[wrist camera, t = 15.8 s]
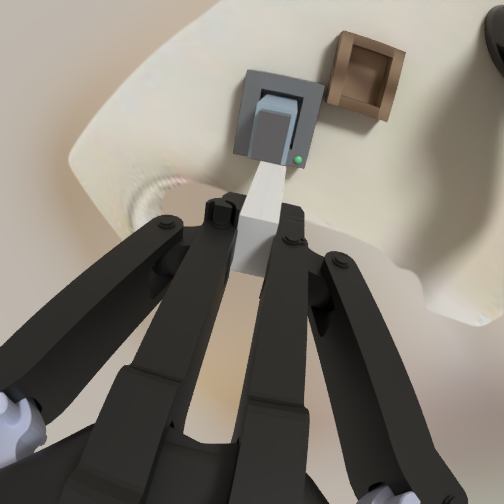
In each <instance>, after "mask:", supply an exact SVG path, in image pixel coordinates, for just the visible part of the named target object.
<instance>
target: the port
mask: <svg viewBox="0 0 504 504" xmlns="http://www.w3.org/2000/svg"><path fill="white" fill-rule="evenodd" d="M324 87H325V86H324V85H322V84H319V83H315V82H311V81H306V80H302V79H298V78H293V77H288V76H284V75H279V74H273V73H268V72H262V71H256V70H247V73H246V78H245V84H244V90H243V95H242V101H241V107H240V113H239V119H238V125H237V131H236V138H235V144H234V150H233V154H238V155H243V156H248V151H249V146H250V140H251V135H252V129H253V124H254V118H255V113H256V107H257V103H258V102H259V101H260V100H261V99H262V98H263V97H265V96H266V95H267V94H268V93H269V94H274V95H279V96H284V97H289V98H293V99H297V116H296V120H295V124H294V129H293V133H292V138H291V142H290V146H289V151H288V155H287V159H286V165H290V166H295V167H299V168H303V169H304V168H305V164H306V160H307V156H308V153H309V149H310V145H311V141H312V137H313V133H314V129H315V125H316V121H317V117H318V112H319V108H320V104H321V100H322V96H323V92H324Z"/></svg>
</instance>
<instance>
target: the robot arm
mask: <svg viewBox="0 0 504 504" xmlns="http://www.w3.org/2000/svg"><path fill="white" fill-rule="evenodd" d="M485 37H486V42H487V46H488V50H489V53H490V55H491V58H492V60H493V62H494V64H495V66H496V67H497V69H498V70H499V72H500V73H501V74H502V76H503V77H504V5H499V6H496V7H494V8H492V9H491V10H490V11H489V13H488V15H487V17H486V22H485ZM285 174H286V167H285V166H281V165H277V164H272V163H267V162H263V161H260V164H259V166H258V169H257V171H256V174H255V176H254V179H253V182H252V184H251V187H250V189H249V192H248V194H247V195H243V194H238V193H233V192H228V193H227V194H225V195H223V197H222V198H214V199H211V200H209V201H208V202H206V208H205V217H204V222H203V224H202V225H201V226H195V227H184V226H183V221H182V220H181V219H180V218H178V217H177V216H173V215H161V216H157V217H155V218H153V219H152V220H151V221H149V222H148V223H146V224H145V225H144V226H142V227H141V228H140V229H138V230H137V231H136V232H134V233H133V234H132V235H130V236H129V237H128V238H126V239H125V240H124V241H122V242H121V243H120V244H119V245H117V246H116V247H114V248H113V249H112V250H111V251H109V252H108V253H107V254H106V255H104V256H103V257H102V258H100V259H99V260H98V261H97V262H95V263H94V264H93V265H92V266H90V267H89V268H88V269H87V270H85V271H84V272H83V273H82V274H81V275H79V276H78V277H77V278H76V279H75V280H73V281H72V282H71V283H70V284H69V285H67V286H66V287H65V288H64V289H63V290H62V291H60V292H59V293H58V294H57V295H56V296H55V297H54V298H52V299H51V300H50V301H49V302H48V303H47V304H46V305H45V306H44V307H42V308H41V309H40V310H39V311H38V312H37V313H36V314H35V315H34V316H32V317H31V318H30V319H29V320H28V321H27V322H26V323H25V324H24V325H23V326H22V327H21V328H20V329H19V330H17V331H16V332H15V333H14V334H13V336H11V338H9V339H8V340H7V341H6V342H5V343H4V344H3V345H2V346H1V347H0V504H329V502H328V501H327V500H326V498H325V497H324V495H323V494H322V493H321V491H320V490H319V489H318V487H317V485H316V484H315V483H314V481H313V480H312V479H311V477H310V476H309V475H308V474H307V473H306V463H307V450H308V437H309V423H310V419H309V411H308V409H307V408H305V407H304V389H305V388H304V387H305V368H306V346H307V315H308V319H309V322H310V326H311V330H312V333H313V337H314V340H315V344H316V348H317V352H318V355H319V359H320V363H321V367H322V371H323V375H324V378H325V383H326V386H327V390H328V394H329V398H330V402H331V406H332V410H333V415H334V419H335V423H336V427H337V431H338V436H339V439H340V444H341V448H342V453H343V457H344V461H345V466H346V470H347V474H348V477H349V481H350V484H351V486H352V489H353V491H354V493H355V496H356V497H357V499H358V502H357V503H356V504H468V498H467V495H466V493H465V491H464V490H463V488H462V487H461V485H460V484H459V483H458V481H457V479H456V478H455V477H454V475H453V474H452V472H451V471H450V469H449V468H448V466H447V465H446V464H445V462H444V461H443V459H442V458H441V456H439V454H438V452H437V451H436V449H435V448H434V444H433V442H432V438H431V435H430V432H429V429H428V427H427V424H426V421H425V418H424V416H423V413H422V410H421V407H420V405H419V402H418V399H417V397H416V394H415V391H414V389H413V386H412V384H411V381H410V379H409V376H408V374H407V371H406V369H405V367H404V364H403V362H402V359H401V357H400V355H399V352H398V350H397V348H396V346H395V344H394V341H393V339H392V337H391V335H390V332H389V330H388V328H387V326H386V323H385V321H384V319H383V317H382V315H381V313H380V311H379V308H378V307H377V304H376V302H375V300H374V299H373V296H372V294H371V292H370V290H369V288H368V286H367V284H366V282H365V280H364V278H363V276H362V274H361V272H360V270H359V268H358V266H357V265H356V263H355V261H354V260H353V259H352V258H351V257H349V256H348V255H347V254H344V253H342V252H337V251H331V252H328V253H326V255H325V257H323V256H321V255H318V254H317V253H315V252H313V251H312V250H310V249H309V248H308V243H307V240H306V239H305V238H304V211H303V210H302V209H301V207H299V206H295V205H291V204H287V203H282V196H283V189H284V181H285ZM230 267H231V270H233V271H237V272H241V273H246V274H250V275H254V276H259V277H264V282H263V285H262V289H261V293H260V297H259V298H260V301H259V307H258V312H257V318H256V323H255V328H254V333H253V338H252V343H251V349H250V354H249V359H248V364H247V369H246V374H245V379H244V384H243V389H242V394H241V399H240V404H239V409H238V414H237V419H236V424H235V428H234V433H233V436H232V440H231V443H229V444H204V443H200V442H198V441H196V440H194V439H192V438H190V437H188V436H186V435H184V434H183V431H184V425H185V420H186V416H187V412H188V409H189V406H190V402H191V399H192V395H193V392H194V389H195V385H196V382H197V379H198V375H199V372H200V368H201V365H202V362H203V359H204V356H205V352H206V349H207V346H208V342H209V339H210V336H211V332H212V329H213V326H214V323H215V320H216V316H217V313H218V310H219V307H220V303H221V300H222V297H223V294H224V291H225V287H226V284H227V281H228V278H229V271H230ZM161 300H162V302H161V303H160V306H159V308H158V310H157V312H156V314H155V316H154V318H153V320H152V322H151V324H150V326H149V328H148V330H147V332H146V334H145V336H144V338H143V341H142V343H141V345H140V347H139V349H138V351H137V353H136V355H135V358H134V360H133V361H132V363H131V364H130V365H124V366H123V367H122V368H121V369H120V371H119V372H118V374H117V376H116V378H115V380H114V382H113V384H112V386H111V389H110V391H109V393H108V395H107V398H106V400H105V402H104V404H103V407H102V409H101V411H100V413H99V416H98V418H97V421H96V423H94V424H91V425H90V426H87V427H86V428H84V429H82V430H80V431H78V432H76V433H74V434H72V435H70V436H68V437H66V438H64V439H62V440H61V441H58V442H57V443H55V444H52V445H51V446H49V447H46V448H44V449H42V450H40V451H38V452H36V453H34V451H35V449H36V448H37V447H38V446H42V445H44V444H45V442H46V439H47V435H46V425H47V424H49V423H51V422H52V421H53V420H54V419H55V418H57V417H58V416H59V415H60V414H62V412H63V411H64V410H65V409H66V408H67V407H68V406H69V405H70V404H71V403H72V402H73V400H74V399H75V398H76V397H77V396H78V394H79V393H80V392H81V391H82V390H83V388H84V387H85V386H86V385H87V384H88V383H89V382H90V380H91V379H92V378H93V377H94V376H95V375H96V373H97V372H98V371H99V370H100V369H101V368H102V366H103V365H104V364H105V363H106V362H107V361H108V359H109V358H110V357H111V356H112V355H113V354H114V353H115V351H116V350H117V349H118V348H119V347H120V346H121V345H122V343H123V342H124V341H125V340H126V339H127V338H128V337H129V336H130V334H131V333H132V332H133V331H134V330H135V329H136V328H137V327H138V325H139V324H140V323H141V322H142V321H143V320H144V319H145V318H146V317H147V315H148V314H149V313H150V312H151V311H152V310H153V309H154V308H155V307H156V306H157V304H158V303H159V302H160V301H161ZM33 453H34V454H33Z"/></svg>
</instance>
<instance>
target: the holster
mask: <svg viewBox="0 0 504 504" xmlns="http://www.w3.org/2000/svg"><path fill="white" fill-rule="evenodd" d="M405 53H406V52H403V51H401V50H399V49H396V48H394V47H391V46H388V45H386V44H383V43H380V42H378V41H375V40H372V39H369V38H366V37H363V36H360V35H357V34H354V33H351V32H347V31H344V30H343V31H342V32H341V33H340V37H339V41H338V46H337V50H336V55H335V59H334V63H333V68H332V72H331V76H330V81H329V85H328V89H327V93H326V97H325V102H326V103H328V104H332V105H335V106H339V107H342V108H346V109H349V110H352V111H355V112H359V113H362V114H365V115H368V116H371V117H374V118H377V119H380V120H383V121H385V122H387V121H388V118H389V115H390V111H391V108H392V104H393V101H394V97H395V93H396V90H397V86H398V82H399V78H400V74H401V70H402V66H403V62H404V58H405Z"/></svg>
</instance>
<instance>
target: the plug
mask: <svg viewBox="0 0 504 504" xmlns="http://www.w3.org/2000/svg"><path fill="white" fill-rule="evenodd" d="M296 116H297V99H293V98H289V97H284V96H279V95H274V94H269V93H268V94H267V95H266V96H265V97H263V98H262V99H261V100H260V101H259V102H258V103H257V107H256V113H255V118H254V124H253V129H252V135H251V140H250V146H249V151H248V157H247V158H251V159H255V160H260V161H264V162H269V163H274V164H278V165H285V164H286V159H287V155H288V151H289V146H290V142H291V138H292V133H293V129H294V124H295V120H296Z"/></svg>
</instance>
